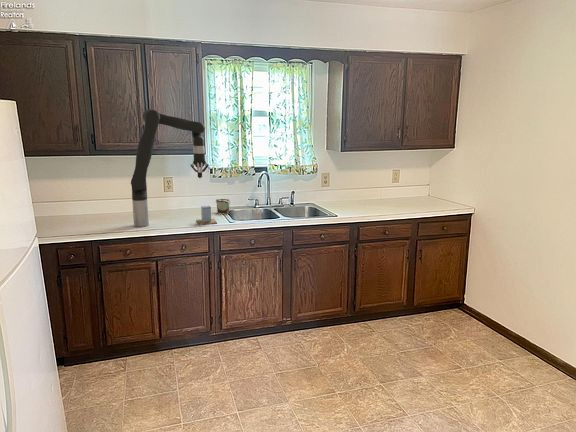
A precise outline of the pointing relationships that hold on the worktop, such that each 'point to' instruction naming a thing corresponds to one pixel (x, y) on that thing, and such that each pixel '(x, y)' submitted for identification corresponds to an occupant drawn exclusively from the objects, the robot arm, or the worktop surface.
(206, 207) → the blue-grey rectangular block
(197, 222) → the post
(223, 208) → the food container
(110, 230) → the worktop surface
